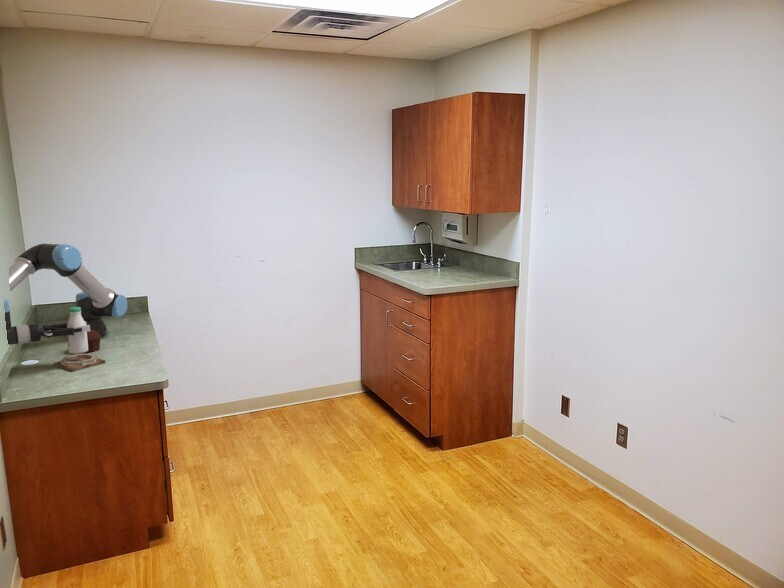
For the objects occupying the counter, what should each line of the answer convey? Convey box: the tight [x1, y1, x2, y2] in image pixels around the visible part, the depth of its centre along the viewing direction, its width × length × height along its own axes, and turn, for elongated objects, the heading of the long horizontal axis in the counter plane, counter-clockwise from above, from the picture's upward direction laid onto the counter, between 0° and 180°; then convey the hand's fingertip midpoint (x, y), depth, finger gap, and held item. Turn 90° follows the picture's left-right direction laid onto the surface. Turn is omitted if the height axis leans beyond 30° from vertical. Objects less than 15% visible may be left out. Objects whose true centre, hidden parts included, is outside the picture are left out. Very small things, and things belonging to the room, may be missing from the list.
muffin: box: [83, 330, 102, 354], centre depth 290 cm, size 12×11×10 cm
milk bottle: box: [66, 306, 88, 355], centre depth 268 cm, size 8×8×20 cm
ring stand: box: [53, 353, 106, 372], centre depth 271 cm, size 15×15×3 cm
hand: (88, 326), depth 270 cm, fingers closed on milk bottle, 7 cm apart
